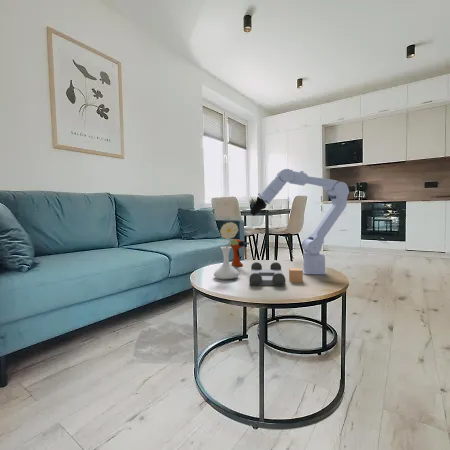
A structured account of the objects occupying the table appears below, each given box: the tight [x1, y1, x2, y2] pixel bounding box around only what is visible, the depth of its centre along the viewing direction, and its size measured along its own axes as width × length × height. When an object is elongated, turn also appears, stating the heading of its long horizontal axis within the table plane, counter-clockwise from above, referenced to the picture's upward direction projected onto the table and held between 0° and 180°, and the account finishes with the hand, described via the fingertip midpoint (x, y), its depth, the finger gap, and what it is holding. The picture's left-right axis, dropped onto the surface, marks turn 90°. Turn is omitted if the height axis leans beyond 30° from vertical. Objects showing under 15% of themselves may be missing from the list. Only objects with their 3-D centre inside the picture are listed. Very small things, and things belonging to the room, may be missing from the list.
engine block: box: [288, 267, 304, 283], centre depth 115 cm, size 5×4×5 cm
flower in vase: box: [213, 221, 240, 280], centre depth 121 cm, size 13×11×25 cm
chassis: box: [248, 261, 286, 287], centre depth 120 cm, size 14×24×5 cm, turn 173°
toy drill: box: [230, 238, 250, 268], centre depth 145 cm, size 5×19×15 cm, turn 24°
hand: (252, 213), depth 127 cm, fingers open, 7 cm apart
